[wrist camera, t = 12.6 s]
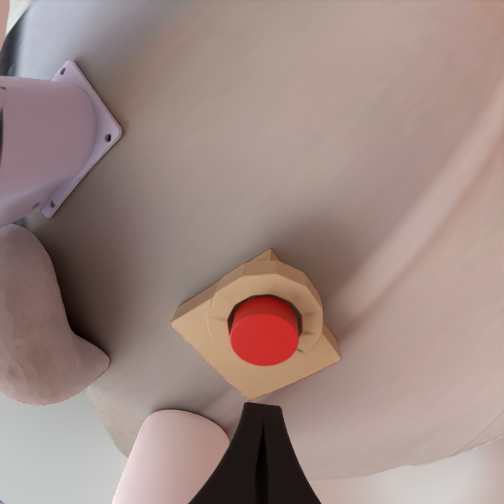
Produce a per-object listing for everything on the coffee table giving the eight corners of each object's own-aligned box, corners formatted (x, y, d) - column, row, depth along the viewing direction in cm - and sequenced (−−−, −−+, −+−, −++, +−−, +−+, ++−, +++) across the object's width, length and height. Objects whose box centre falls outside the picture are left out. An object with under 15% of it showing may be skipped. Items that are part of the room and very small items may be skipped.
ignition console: (251, 381, 23) (247, 418, 19) (171, 298, 21) (152, 330, 17) (351, 332, 21) (363, 368, 17) (280, 227, 18) (282, 250, 14)
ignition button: (257, 355, 17) (255, 375, 16) (220, 315, 17) (215, 333, 15) (308, 329, 17) (311, 349, 15) (274, 284, 16) (273, 301, 14)
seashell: (115, 221, 26) (-26, 177, 13) (170, 358, 21) (-25, 378, 8) (53, 301, 30) (-53, 289, 17) (88, 409, 25) (-32, 426, 12)
